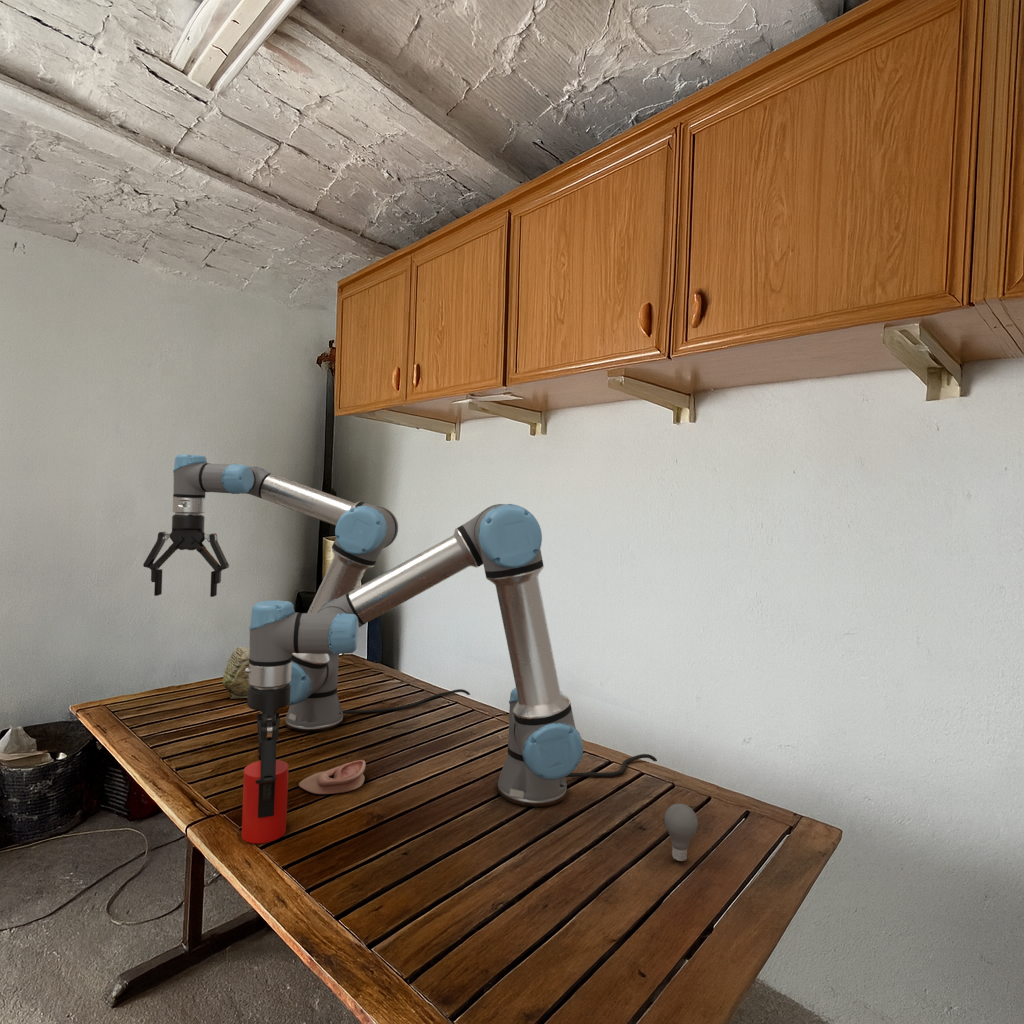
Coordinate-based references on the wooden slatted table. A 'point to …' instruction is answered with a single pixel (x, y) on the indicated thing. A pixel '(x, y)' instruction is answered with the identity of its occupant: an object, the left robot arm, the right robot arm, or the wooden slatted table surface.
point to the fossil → (237, 673)
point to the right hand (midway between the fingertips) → (265, 804)
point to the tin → (251, 824)
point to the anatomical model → (336, 779)
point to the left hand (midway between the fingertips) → (185, 595)
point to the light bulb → (680, 828)
